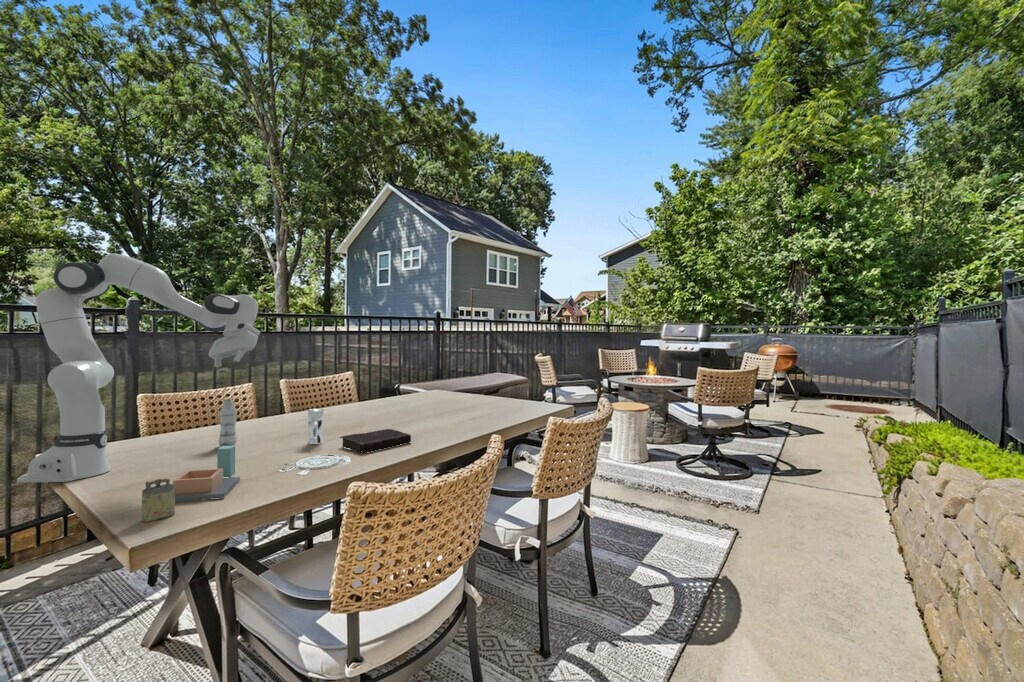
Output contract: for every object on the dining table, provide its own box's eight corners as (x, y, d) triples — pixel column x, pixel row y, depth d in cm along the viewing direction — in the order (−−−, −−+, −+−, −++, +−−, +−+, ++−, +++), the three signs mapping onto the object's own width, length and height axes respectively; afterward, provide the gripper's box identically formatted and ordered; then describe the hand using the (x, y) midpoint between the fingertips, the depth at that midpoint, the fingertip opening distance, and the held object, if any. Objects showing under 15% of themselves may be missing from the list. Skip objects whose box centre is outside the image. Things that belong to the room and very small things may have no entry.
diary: (411, 445, 202) (411, 434, 202) (363, 456, 183) (363, 444, 183) (386, 437, 214) (386, 427, 214) (338, 447, 194) (338, 436, 194)
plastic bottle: (223, 444, 194) (224, 398, 194) (239, 444, 194) (240, 399, 194) (215, 448, 187) (215, 401, 187) (231, 448, 188) (232, 401, 188)
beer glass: (317, 445, 195) (317, 411, 195) (303, 444, 197) (303, 410, 196) (326, 441, 202) (327, 409, 202) (313, 440, 203) (313, 408, 203)
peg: (217, 478, 150) (217, 448, 150) (222, 474, 154) (222, 445, 154) (230, 477, 151) (230, 448, 151) (234, 474, 155) (235, 445, 155)
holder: (152, 504, 127) (152, 485, 127) (176, 485, 142) (176, 468, 142) (223, 498, 132) (224, 480, 132) (239, 481, 147) (240, 464, 147)
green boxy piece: (173, 511, 122) (173, 475, 122) (177, 515, 120) (177, 478, 119) (139, 519, 117) (140, 481, 116) (143, 523, 114) (143, 485, 114)
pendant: (366, 463, 173) (366, 459, 173) (292, 479, 152) (292, 475, 152) (338, 452, 187) (338, 449, 187) (267, 466, 165) (267, 463, 165)
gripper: (210, 334, 172) (198, 366, 164) (249, 322, 165) (239, 354, 158) (225, 342, 177) (214, 373, 169) (263, 330, 170) (254, 362, 163)
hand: (226, 364), depth 164 cm, fingers open, 8 cm apart
